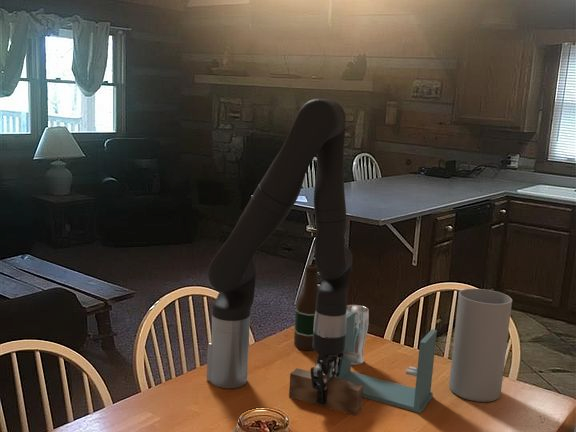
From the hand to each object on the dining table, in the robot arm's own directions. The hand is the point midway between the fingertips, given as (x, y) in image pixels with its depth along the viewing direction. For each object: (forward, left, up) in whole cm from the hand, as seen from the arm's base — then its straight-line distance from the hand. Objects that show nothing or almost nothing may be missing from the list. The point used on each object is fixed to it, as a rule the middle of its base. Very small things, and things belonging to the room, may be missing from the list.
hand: (325, 399), depth 147 cm
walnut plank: (0, 0, -1) cm, 1 cm away
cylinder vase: (+29, +27, -1) cm, 40 cm away
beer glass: (-4, +27, -1) cm, 27 cm away
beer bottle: (-19, +29, -1) cm, 35 cm away
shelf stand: (+9, +13, -1) cm, 16 cm away
